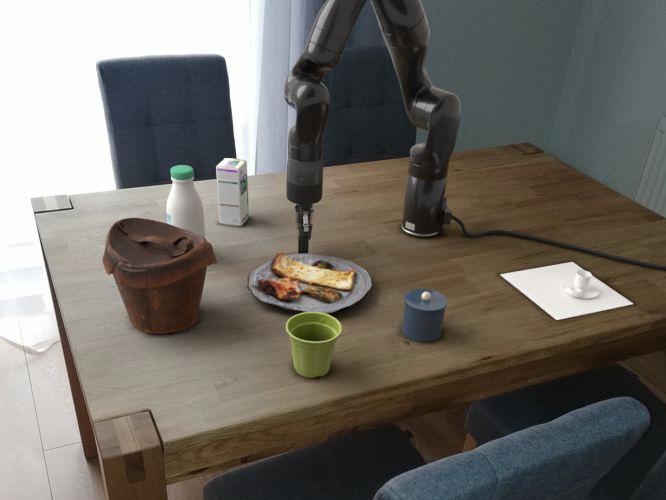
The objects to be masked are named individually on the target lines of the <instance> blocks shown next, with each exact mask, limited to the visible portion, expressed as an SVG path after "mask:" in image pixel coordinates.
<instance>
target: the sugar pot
mask: <svg viewBox="0 0 666 500" xmlns="http://www.w3.org/2000/svg"><path fill="white" fill-rule="evenodd" d="M403 302H404V304H403V305H404V306H403V313H402V323H401V332H402V334H403V336H405V337H406V338H408V339H410V340H412V341H415V342H421V343H430V342H434V341H436V340H438V339H439V338H440V337H441V336H442V334H443V333H442V332H443V326H444V319H445V313H446V309H447V307H448V299H447V297H446V296H445V295H444V294H443V293H441V292H440V291H437V290H435V289H429V288H413V289H411V290H409V291H407V292H406V293H405V294H404V296H403Z"/></svg>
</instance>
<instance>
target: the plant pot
mask: <svg viewBox="0 0 666 500" xmlns="http://www.w3.org/2000/svg"><path fill="white" fill-rule="evenodd" d="M342 329H343V327H342V324H341V322H340V321H339V320H338V319H337V318H336V317H334V316H332V315H330V314H329V313H328V314H327V313H326V314H325V313H321V312H306V311H304V312H300V313H297V314H295V315H293V316H291V317H290V318H288V320H287V321H286V323H285V330H286V333H287V335H288V337H289V339H290V345H291V352H292V359H293V361H292V362H293V367H294V370H295V371H296V373H297V374H298V375H300V376H301V377H304V378H310V379H315V378H316V377H324V376H325V375H327V374H328V373H329V371H330V367H331V363H332V358H333V355H334V350H335V346H336V342H337V341H338V338H339V337H340V336H341V334H342Z"/></svg>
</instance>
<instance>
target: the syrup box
mask: <svg viewBox="0 0 666 500" xmlns="http://www.w3.org/2000/svg"><path fill="white" fill-rule="evenodd" d="M215 173H216V174H215V175H216V176H215V177H216V187H217V188H216V191H217V205H218V222H219V224H222V225H227V226H235V227H243V225H244V224H245V223H246V221H247V220H248V219H249V216H250V210H249V208H250V207H249V186H248V185H249V183H248V162H247V160H246V159H241V158H232V157H231V158H230V157H228V158H227V157H224V158H223V160H221V161H220V162H218V164H217V165H216V166H215Z"/></svg>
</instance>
